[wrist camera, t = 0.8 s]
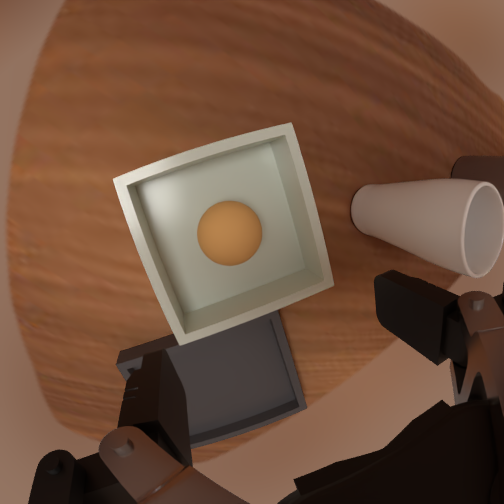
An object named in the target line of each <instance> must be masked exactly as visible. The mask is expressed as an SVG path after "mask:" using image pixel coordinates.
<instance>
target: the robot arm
mask: <svg viewBox="0 0 504 504" xmlns="http://www.w3.org/2000/svg"><path fill="white" fill-rule="evenodd" d="M451 178H454V179H470V180H478V181H485V182H489V183H491V184H493V185H494V186H495V187H496V189H497V190H498V192H499V194H500V196H501V198H502V202H503V206H504V156H463V157H461V158H459V159H458V160H457V162H456V163H455V166H454V168H453V171H452V177H451ZM374 288H375V301H376V314H377V318H378V320H379V322H380V323H381V325H382V326H383V327H385V328H386V329H387V330H389V331H390V332H392V333H393V334H394V335H396V336H397V337H398V338H400V339H401V340H403V341H404V342H406V343H407V344H408V345H410V346H411V347H413V348H414V349H415V350H417V351H418V352H419V353H421V354H422V355H423V356H425V357H426V358H428V359H429V360H430V361H432V362H433V363H434V364H436V365H437V366H438V365H439V364H440V363H442V362H443V361H445V360H446V359H448V358H450V359H451V362H450V372H451V378H452V385H453V391H454V399H455V405H454V406H451V407H450V406H449V405H448V404H446V403H445V402H444V401H443V400H441V401H440V402H438V403H437V404H435V405H434V406H433V407H431V408H430V409H428V410H427V411H426V412H424V413H423V414H421V415H420V416H418V417H417V418H415V419H414V420H412V421H411V422H410V423H409V425H407V426H406V427H405V428H404V429H403V430H402V432H400V433H399V434H398V435H397V436H396V437H395V438H394V439H393V440H392V441H391V442H390V443H389V444H388V445H387V446H385V447H384V448H383V449H381V450H378V451H375V452H372V453H368V454H365V455H361V456H358V457H355V458H351V459H347V460H343V461H339V462H335V463H333V464H331V465H328V466H326V467H324V468H321V469H319V470H317V471H314V472H311V473H309V474H306V475H304V476H301V477H298V478H296V479H294V482H295V485H296V488H297V490H296V491H294V492H292V493H291V494H289V495H288V496H286V497H285V498H284V499H282V500H281V501H280V502H279V503H278V504H504V283H503V292H502V294H500V295H497V296H495V297H492V296H491V295H490V294H487V293H485V292H481V291H471V292H467V293H464V294H463V295H461V296H458V295H456V294H453V293H451V292H449V291H447V290H444V289H442V288H440V287H438V286H437V287H436V286H435V285H433V284H431V283H429V284H428V282H426V281H424V280H422V279H419V278H414V277H409V276H407V275H405V274H402V273H400V272H398V271H395V270H390V271H387V272H385V273H383V274H380V275H378V276H376V277H375V279H374ZM28 504H250V503H248V502H246V501H244V500H243V499H241V498H239V497H238V496H236V495H234V494H233V493H231V492H229V491H228V490H226V489H224V488H223V487H221V486H220V485H218V484H216V483H215V482H214V481H212V480H211V479H209V478H208V477H206V476H205V475H203V474H202V473H200V472H199V471H197V470H196V469H195V468H193V464H192V456H191V446H190V436H189V425H188V413H187V399H186V394H185V390H184V387H183V384H182V382H181V380H180V378H179V376H178V374H177V372H176V370H175V368H174V366H173V363H172V361H171V359H170V357H169V355H168V353H167V351H166V350H165V349H164V348H163V349H159V350H155V351H151V352H148V353H144V355H143V359H142V365H141V369H137V370H134V371H133V373H132V374H131V375H130V377H129V378H128V379H127V382H126V387H125V392H124V396H123V401H122V406H121V411H120V416H119V421H118V427H117V429H114V430H112V431H111V432H109V433H108V434H107V435H106V436H105V437H104V438H103V439H102V441H101V443H100V445H99V452H98V453H95V454H93V455H90V456H87V457H84V458H81V459H78V460H76V459H75V458H74V457H73V456H72V454H71V453H69V452H68V451H65V450H55V451H52V452H50V453H48V454H47V455H45V456H44V457H43V458H42V459H41V460H40V462H39V464H38V466H37V469H36V473H35V477H34V481H33V485H32V489H31V493H30V497H29V503H28Z"/></svg>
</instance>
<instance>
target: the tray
mask: <svg viewBox="0 0 504 504" xmlns="http://www.w3.org/2000/svg"><path fill="white" fill-rule="evenodd" d="M163 348H164V349H165V350H166V351H167V353H168V355H169V357H170V359H171V361H172V363H173V366H174V368H175V370H176V372H177V374H178V376H179V378H180V380H181V382H182V384H183V387H184V390H185V394H186V399H187V413H188V425H189V436H190V446H191V449H193V448H197V447H201V446H204V445H208V444H211V443H215V442H218V441H221V440H225V439H228V438H231V437H234V436H237V435H240V434H243V433H246V432H249V431H252V430H255V429H257V428H260V427H263V426H265V425H268V424H271V423H273V422H276V421H278V420H281V419H283V418H286V417H288V416H291V415H293V414H295V413H298V412H300V411H302V410H304V409H307V405H306V402H305V399H304V395H303V392H302V389H301V385H300V382H299V379H298V375H297V372H296V369H295V365H294V362H293V359H292V355H291V352H290V349H289V345H288V342H287V339H286V336H285V332H284V329H283V326H282V322H281V319H280V316H279V313H278V310H275V311H273V312H270V313H268V314H265V315H263V316H260V317H257V318H255V319H252V320H250V321H247V322H245V323H242V324H239V325H237V326H234V327H231V328H229V329H226V330H223V331H220V332H218V333H215V334H212V335H209V336H207V337H204V338H201V339H198V340H195V341H192V342H189V343H187V344H184V345H181V346H180V345H179V343H178V341H177V339H176V337H175V335H174V334H172V335H169V336H166V337H163V338H160V339H157V340H154V341H151V342H148V343H145V344H142V345H138V346H135V347H132V348H129V349H126V350H123V351H120V353H119V356H118V359H117V363H116V366H117V367H118V369H119V371H120V372H121V374H122V375H123V377H124V379H125V380H126V382H127V379H128V378H129V377H130V375H131V374H132V373H133V371H134V370H137V369H141V365H142V359H143V355H144V353H148V352H151V351H155V350H159V349H163Z"/></svg>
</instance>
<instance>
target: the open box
mask: <svg viewBox="0 0 504 504" xmlns="http://www.w3.org/2000/svg"><path fill="white" fill-rule="evenodd" d="M113 181H114V185H115V188H116V191H117V194H118V197H119V200H120V203H121V206H122V209H123V212H124V215H125V218H126V220H127V223H128V226H129V229H130V231H131V234H132V237H133V240H134V242H135V245H136V247H137V250H138V253H139V255H140V258H141V260H142V263H143V265H144V268H145V270H146V273H147V275H148V277H149V280H150V282H151V284H152V287H153V289H154V291H155V294H156V296H157V298H158V301H159V303H160V305H161V307H162V309H163V312H164V314H165V316H166V318H167V320H168V322H169V325H170V327H171V329H172V331H173V333H174V335H175V337H176V339H177V341H178V343H179V345H180V346H181V345H184V344H187V343H189V342H192V341H195V340H198V339H201V338H204V337H207V336H209V335H212V334H215V333H218V332H220V331H223V330H226V329H229V328H231V327H234V326H237V325H239V324H242V323H245V322H247V321H250V320H252V319H255V318H257V317H260V316H263V315H265V314H268V313H270V312H273V311H275V310H278V309H280V308H283V307H285V306H288V305H290V304H292V303H295V302H297V301H300V300H302V299H304V298H307V297H309V296H311V295H314V294H316V293H318V292H321V291H323V290H325V289H328V288H330V287H332V286H334V281H333V276H332V271H331V267H330V262H329V258H328V254H327V249H326V245H325V241H324V237H323V232H322V228H321V224H320V220H319V216H318V212H317V209H316V205H315V201H314V197H313V193H312V190H311V186H310V182H309V179H308V175H307V172H306V168H305V165H304V161H303V158H302V155H301V151H300V148H299V145H298V141H297V138H296V135H295V132H294V129H293V125H292V123H287V124H283V125H279V126H274V127H270V128H266V129H262V130H258V131H254V132H250V133H246V134H243V135H239V136H235V137H232V138H228V139H225V140H221V141H218V142H215V143H211V144H208V145H205V146H202V147H198V148H195V149H192V150H189V151H186V152H183V153H180V154H177V155H174V156H172V157H169V158H166V159H163V160H160V161H158V162H155V163H152V164H149V165H147V166H144V167H142V168H139V169H136V170H134V171H131V172H129V173H126V174H124V175H121V176H119V177H117V178H114V179H113ZM223 201H237V202H241V203H243V204H245V205H247V206H248V207H250V208H251V209H252V210H253V211H254V212H255V213H256V215H257V216H258V218H259V220H260V223H261V227H262V240H261V244H260V246H259V248H258V250H257V252H256V253H255V254H254V255H253V256H252V257H251V258H250V259H249V260H247V261H246V262H244V263H242V264H239V265H234V266H225V265H220V264H218V263H215V262H213V261H212V260H210V259H209V258H208V257H207V256H206V255H205V254H204V253H203V251H202V250H201V248H200V246H199V243H198V239H197V228H198V224H199V221H200V219H201V217H202V215H203V214H204V213H205V211H206V210H207V209H208V208H210V207H211V206H213V205H214V204H217V203H219V202H223Z"/></svg>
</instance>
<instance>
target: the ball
mask: <svg viewBox="0 0 504 504" xmlns="http://www.w3.org/2000/svg"><path fill="white" fill-rule="evenodd" d="M197 239H198V243H199V246H200V248H201V250H202V251H203V253H204V254H205V255H206V256H207V257H208V258H209V259H210V260H212V261H213V262H215V263H218V264H220V265H225V266H234V265H239V264H242V263H244V262H246V261H247V260H249V259H250V258H251V257H252V256H253V255H254V254H255V253H256V252H257V250H258V248H259V246H260V244H261V240H262V227H261V223H260V220H259V218H258V216H257V215H256V213H255V212H254V211H253V210H252V209H251V208H250V207H248V206H247V205H245V204H243V203H241V202H237V201H223V202H219V203H217V204H214V205H213V206H211V207H210V208H208V209H207V210H206V211H205V213H204V214H203V215H202V217H201V219H200V221H199V224H198V228H197Z"/></svg>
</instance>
